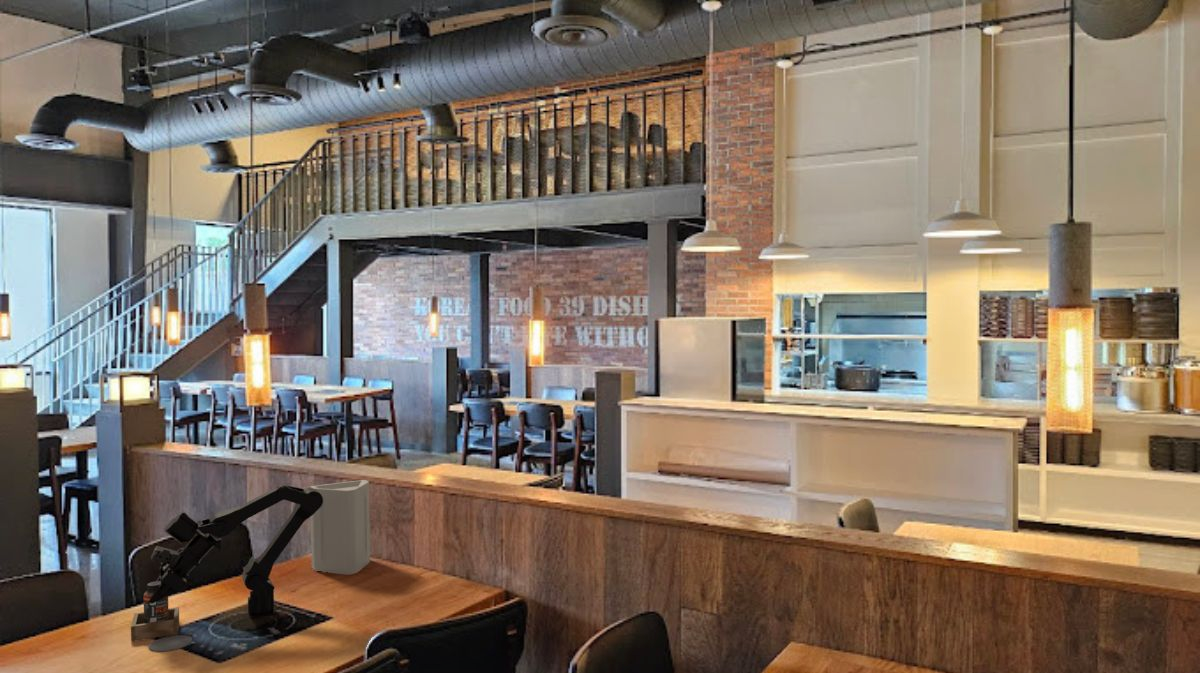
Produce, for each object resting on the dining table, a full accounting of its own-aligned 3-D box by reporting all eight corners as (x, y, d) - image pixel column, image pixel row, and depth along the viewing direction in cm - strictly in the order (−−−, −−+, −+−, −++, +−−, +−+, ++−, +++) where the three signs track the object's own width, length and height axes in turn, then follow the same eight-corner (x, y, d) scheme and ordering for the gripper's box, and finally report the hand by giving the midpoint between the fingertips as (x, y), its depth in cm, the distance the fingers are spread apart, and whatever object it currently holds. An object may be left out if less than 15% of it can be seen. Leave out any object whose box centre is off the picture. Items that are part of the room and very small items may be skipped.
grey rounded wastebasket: (322, 579, 269) (321, 493, 269) (311, 567, 282) (309, 486, 281) (380, 568, 280) (378, 486, 279) (366, 558, 292) (365, 479, 291)
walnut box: (179, 621, 233) (179, 607, 233) (177, 634, 223) (177, 619, 223) (134, 627, 228) (134, 613, 228) (131, 641, 218) (130, 626, 218)
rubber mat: (192, 634, 223) (192, 632, 223) (191, 647, 214) (191, 646, 214) (150, 640, 219) (150, 639, 219) (147, 654, 210) (147, 653, 210)
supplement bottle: (158, 629, 222) (156, 587, 222) (138, 627, 223) (137, 586, 223) (173, 620, 228) (172, 580, 228) (155, 619, 229) (153, 579, 229)
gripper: (168, 527, 235) (125, 572, 230) (171, 543, 219) (124, 592, 214) (200, 551, 239) (158, 595, 234) (204, 567, 223) (159, 616, 218)
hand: (149, 599), depth 225 cm, fingers closed on supplement bottle, 6 cm apart
